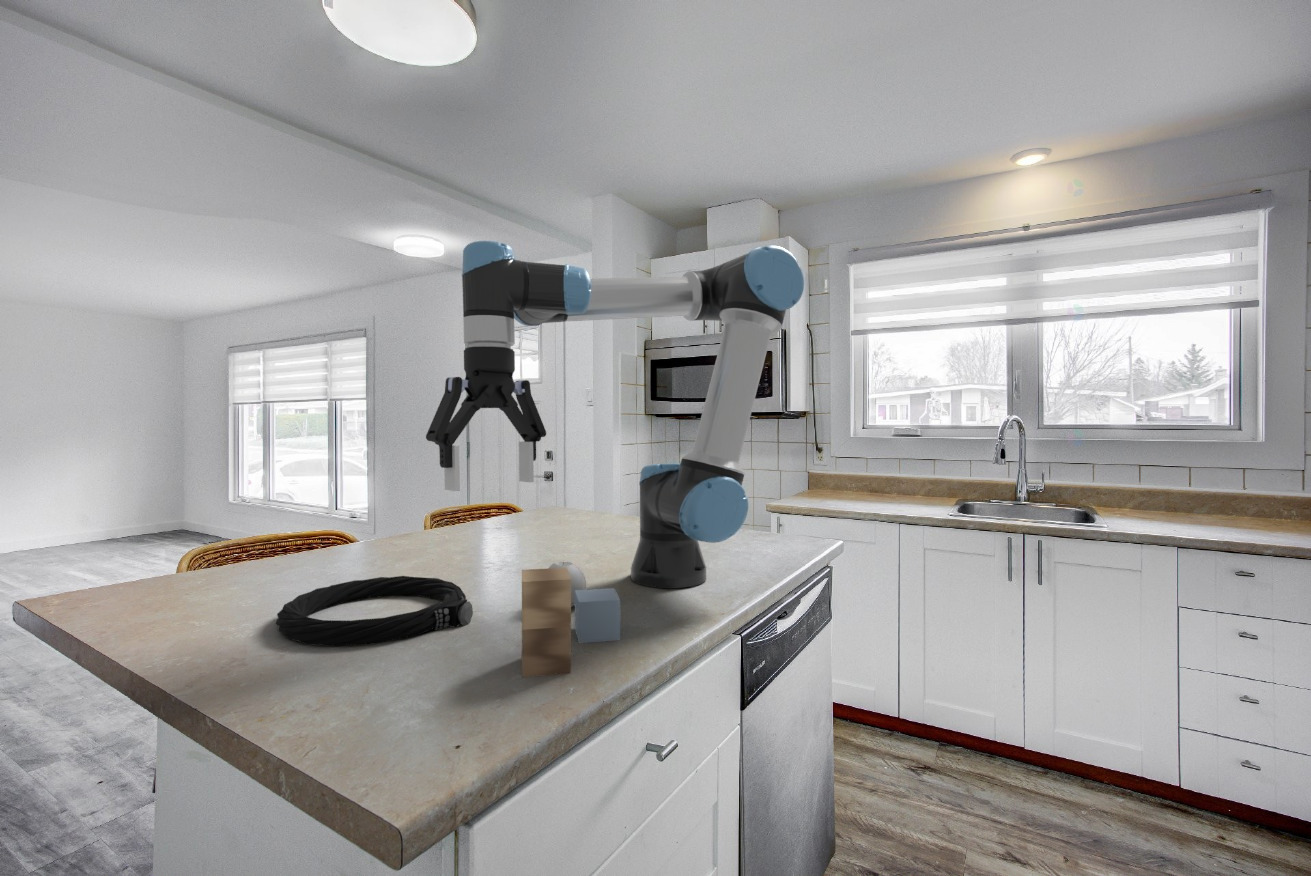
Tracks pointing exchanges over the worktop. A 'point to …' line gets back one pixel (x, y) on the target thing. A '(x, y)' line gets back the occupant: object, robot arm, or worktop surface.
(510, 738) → the worktop surface
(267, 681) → the worktop surface
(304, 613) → the ring
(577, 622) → the slate block
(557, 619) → the tower upper block
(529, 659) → the tower lower block
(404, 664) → the worktop surface
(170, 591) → the worktop surface
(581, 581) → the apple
